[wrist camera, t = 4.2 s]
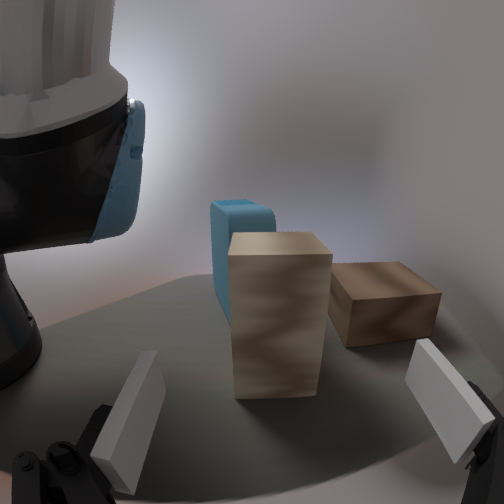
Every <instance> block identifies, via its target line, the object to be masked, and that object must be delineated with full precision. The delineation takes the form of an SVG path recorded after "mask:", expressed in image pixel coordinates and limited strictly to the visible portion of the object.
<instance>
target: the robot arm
mask: <svg viewBox="0 0 504 504" xmlns="http://www.w3.org/2000/svg"><path fill="white" fill-rule="evenodd" d="M114 6H115V0H0V389H2V388H4V387H6V386H7V385H9V384H11V383H12V382H14V381H15V380H16V379H18V378H19V377H20V376H21V375H23V374H24V373H25V372H26V371H27V370H28V369H29V368H30V366H31V365H32V364H33V363H34V361H35V360H36V358H37V356H38V354H39V352H40V349H41V345H42V340H41V336H40V333H39V330H38V327H37V324H36V321H35V319H34V317H33V315H32V314H31V312H29V310H28V308H27V307H26V305H25V303H24V301H23V300H22V298H21V296H20V295H19V293H18V291H17V290H16V288H15V286H14V284H13V283H12V281H11V279H10V277H9V275H8V272H7V268H6V264H5V259H4V254H7V253H13V252H20V251H26V250H34V249H42V248H50V247H57V246H65V245H74V244H82V243H92V242H94V241H95V240H100V239H105V238H109V237H115V236H119V235H121V234H123V233H125V232H126V231H128V230H129V228H130V227H131V226H132V224H133V222H134V219H135V216H136V212H137V207H138V200H139V192H140V184H141V174H142V152H143V144H144V138H145V109H144V105H143V103H142V102H141V101H136V100H135V99H133V98H132V99H127V91H128V82H127V80H126V78H125V77H124V76H123V75H122V74H120V73H119V72H118V71H117V70H116V69H114V68H113V67H112V66H111V65H110V63H109V53H110V52H109V51H110V40H111V30H112V20H113V13H114ZM404 380H405V382H406V384H407V385H408V387H409V388H410V390H411V391H412V393H413V395H414V396H415V398H416V399H417V401H418V403H419V404H420V406H421V408H422V409H423V411H424V412H425V414H426V416H427V417H428V419H429V421H430V422H431V424H432V426H433V427H434V429H435V431H436V433H437V434H438V436H439V438H440V439H441V441H442V443H443V445H444V446H445V448H446V450H447V452H448V453H449V455H450V457H451V459H452V461H453V462H454V464H456V463H459V462H461V461H463V460H465V459H467V458H468V456H469V455H470V454H471V453H472V451H474V453H475V456H474V457H473V458H472V459H471V461H470V462H469V463H468V464H467V466H466V468H465V469H467V468H468V467H469V466H470V465H471V468H470V473H469V477H468V481H467V485H466V488H465V492H464V495H463V499H462V502H461V504H504V417H503V416H501V414H500V413H499V412H498V410H497V409H496V408H495V407H494V405H493V404H492V403H491V402H490V400H489V399H487V397H486V396H485V394H483V392H482V391H481V390H480V388H479V387H478V386H477V385H475V384H473V383H472V382H470V381H468V382H466V381H465V380H464V379H463V377H462V376H461V375H460V374H459V373H458V372H457V370H456V369H455V368H454V367H453V366H452V365H451V363H450V362H449V361H448V360H447V359H446V358H445V357H444V355H443V354H442V353H441V352H440V351H439V350H438V349H437V348H436V347H435V345H434V344H433V343H432V342H431V341H430V340H429V339H428V338H426V339H420V340H417V341H416V345H415V348H414V351H413V355H412V358H411V361H410V364H409V367H408V370H407V373H406V376H405V379H404ZM165 395H166V389H165V385H164V381H163V376H162V372H161V368H160V363H159V359H158V354H157V351H145V350H142V352H141V354H140V356H139V357H138V359H137V361H136V363H135V365H134V367H133V369H132V371H131V373H130V375H129V376H128V378H127V380H126V382H125V384H124V386H123V388H122V390H121V392H120V394H119V396H118V398H117V400H116V402H115V404H114V406H108V405H103V404H102V405H101V406H100V407H99V408H98V409H97V410H95V411H94V413H93V415H92V417H91V418H90V422H88V424H87V426H86V429H85V430H84V431H83V433H82V435H81V437H80V439H79V441H78V443H77V445H76V447H75V446H74V445H73V444H71V443H70V442H65V441H60V442H56V443H54V444H52V445H51V446H50V447H49V448H48V450H47V452H46V459H47V460H48V461H45V460H39V458H38V457H37V456H36V455H35V454H34V453H32V452H27V451H26V452H21V453H20V454H18V455H17V456H16V457H15V459H14V462H13V472H12V504H116V502H115V500H114V499H113V497H112V495H111V494H110V492H109V491H110V489H111V486H113V487H114V489H115V490H116V491H118V492H122V493H126V494H130V495H134V494H135V491H136V487H137V484H138V481H139V477H140V474H141V471H142V467H143V464H144V461H145V457H146V454H147V451H148V448H149V444H150V441H151V438H152V435H153V432H154V429H155V426H156V422H157V419H158V416H159V413H160V410H161V407H162V404H163V401H164V398H165Z"/></svg>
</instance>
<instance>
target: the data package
mask: <svg viewBox="0 0 504 504" xmlns="http://www.w3.org/2000/svg"><path fill="white" fill-rule="evenodd" d="M210 217H211V241H212V260H213V279H214V287H215V291H216V293H217V296H218V298H219V300H220V303H221V305H222V307H223V310H224V312H225V314H226V316H227V319H228V321H229V323H230V325H231V321H230V300H229V277H228V252H229V248H230V244H231V240H232V235H233V232H276V220H275V216H274V213H273V211H272V210H271V209H270V208H267V207H264V206H262V205H259V204H256V203H254V202H251V201H248V200H224V201H212V202H211V206H210Z"/></svg>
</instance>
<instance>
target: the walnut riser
mask: <svg viewBox="0 0 504 504" xmlns="http://www.w3.org/2000/svg"><path fill="white" fill-rule="evenodd" d="M441 295H442V293H441V292H440V291H439V290H438V289H436V288H435V287H434V286H432V285H431V284H430V283H428V282H427V281H425V280H424V279H423V278H421V277H420V276H419V275H417V274H416V273H414V272H413V271H412V270H410V269H409V268H407V267H406V266H405V265H403V264H402V263H400V262H374V263H373V262H372V263H371V262H370V263H332V271H331V283H330V294H329V304H328V314H329V316H330V318H331V320H332V322H333V324H334V326H335V328H336V330H337V332H338V334H339V336H340V338H341V340H342V342H343V344H344V346H345V348H348V347H357V346H366V345H375V344H383V343H390V342H397V341H404V340H410V339H417V338H423V337H428V336H431V333H432V330H433V326H434V323H435V319H436V315H437V311H438V307H439V303H440V299H441Z"/></svg>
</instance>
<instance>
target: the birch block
mask: <svg viewBox="0 0 504 504" xmlns="http://www.w3.org/2000/svg"><path fill="white" fill-rule="evenodd" d="M332 258H333V254H332V253H331V252H330V250H329V249H328V248H327V247H326V246H325V245H324V244H323V243H322V242H321V241H320V240H319V239H318V238H317V237H316V236H315V235H314V234H313V233H312V232H233V235H232V240H231V244H230V248H229V252H228V277H229V300H230V321H231V341H232V359H233V375H234V391H235V399H270V398H291V397H305V396H316V392H317V386H318V380H319V374H320V367H321V361H322V353H323V346H324V338H325V331H326V322H327V313H328V304H329V294H330V283H331V271H332Z"/></svg>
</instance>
